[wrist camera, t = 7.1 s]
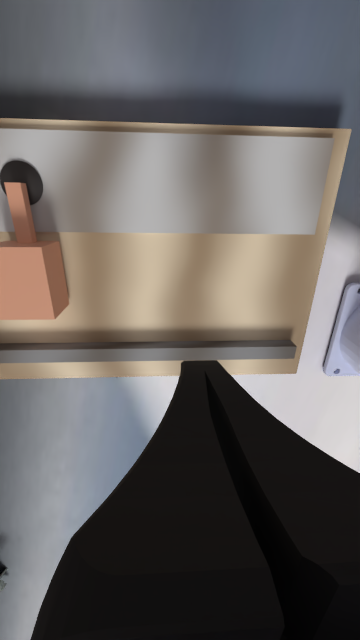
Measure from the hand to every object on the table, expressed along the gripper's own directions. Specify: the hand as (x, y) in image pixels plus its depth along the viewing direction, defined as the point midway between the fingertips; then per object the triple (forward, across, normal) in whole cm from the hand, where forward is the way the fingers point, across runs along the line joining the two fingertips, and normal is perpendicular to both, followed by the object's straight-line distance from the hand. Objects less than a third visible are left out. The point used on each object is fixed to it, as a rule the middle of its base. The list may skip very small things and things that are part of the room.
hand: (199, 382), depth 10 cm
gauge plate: (+10, +5, -2) cm, 12 cm away
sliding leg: (+9, +9, -4) cm, 13 cm away
